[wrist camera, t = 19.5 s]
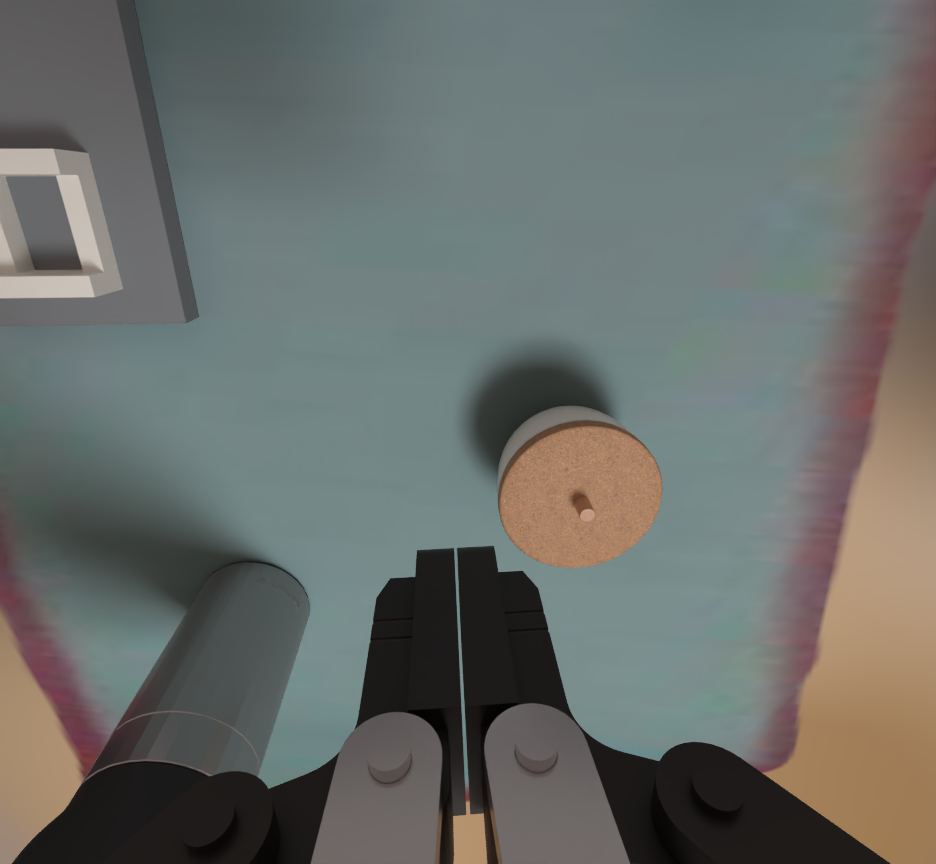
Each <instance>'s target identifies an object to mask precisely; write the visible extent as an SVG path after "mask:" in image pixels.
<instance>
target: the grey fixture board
mask: <svg viewBox="0 0 936 864" xmlns="http://www.w3.org/2000/svg"><path fill="white" fill-rule="evenodd" d="M198 317H199V315H198V310H197V306H196V301H195V296H194V291H193V286H192V281H191V276H190V272H189V267H188V262H187V257H186V252H185V247H184V242H183V238H182V233H181V228H180V223H179V218H178V213H177V208H176V204H175V199H174V194H173V189H172V184H171V179H170V174H169V170H168V165H167V160H166V155H165V150H164V145H163V141H162V136H161V131H160V126H159V121H158V116H157V111H156V107H155V102H154V97H153V92H152V87H151V82H150V77H149V73H148V68H147V63H146V58H145V53H144V48H143V43H142V39H141V34H140V29H139V24H138V19H137V14H136V9H135V5H134V0H0V326H17V325H92V324H167V323H187V322H190V321H192V320H194V319H196V318H198Z"/></svg>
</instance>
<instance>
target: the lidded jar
mask: <svg viewBox="0 0 936 864" xmlns="http://www.w3.org/2000/svg"><path fill="white" fill-rule="evenodd" d="M497 490H498V508H499V513H500V518H501V522H502V525H503V527H504V529H505V532H506V533H507V535H508V536H509V538H510V539H511V541H512V542H513V543H514V544H515V545H516V546H517V547H518V548H519V549H520V550H521V551H522V552H524V553H525V554H526V555H528V556H530V557H531V558H533V559H535V560H537V561H540V562H543V563H545V564H548V565H553V566H558V567H568V568H577V567H586V566H592V565H597V564H600V563H603V562H606V561H608V560H610V559H613V558H615V557H617V556H619V555H621V554H622V553H624V552H625V551H627V550H628V549H629V548H631V547H632V546H633V545H634V544H636V543H637V542H638V541H639V540H640V539H641V538H642V536H643V535H644V534H645V533H646V532H647V530H648V529H649V528H650V526H651V525H652V523H653V521H654V519H655V517H656V515H657V513H658V510H659V507H660V503H661V498H662V478H661V474H660V470H659V467H658V465H657V463H656V461H655V459H654V457H653V456H652V454H651V453H650V452H649V450H648V449H647V448H646V446H645V445H644V444H643V443H642V442H641V441H640V440H638V439H637V438H636V437H635V436H634V435H633V434H632V433H631V432H630V431H629V430H628V429H627V428H626V427H625V426H623V425H622V424H621V423H619V422H618V421H617V420H615V419H614V418H612V417H610V416H609V415H607V414H604V413H602V412H600V411H597V410H595V409H592V408H588V407H584V406H559V407H554V408H550V409H547V410H544V411H541V412H539V413H537V414H536V415H534V416H532V417H530V418H529V419H528V420H526V421H525V422H524V423H523V424H522V425H521V426H520V427H519V428H518V429H516V431H515V432H514V433H513V434H512V436H511V437H510V438H509V440H508V442H507V444H506V445H505V447H504V450H503V453H502V456H501V459H500V462H499V468H498V476H497Z"/></svg>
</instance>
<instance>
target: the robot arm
mask: <svg viewBox="0 0 936 864" xmlns="http://www.w3.org/2000/svg"><path fill="white" fill-rule="evenodd" d="M457 555H458V579H459V602H460V624H461V644H462V663H463V682H464V701H465V720H466V739H467V758H468V776H469V795H470V813H471V814H479V813H480V814H481V813H484V822H485V836H486V849H487V864H890V863H889V862H887V861H886V860H884V859H883V858H882V857H880V856H879V855H877V854H876V853H874V852H873V851H872V850H870V849H869V848H867V847H866V846H864V845H863V844H862V843H860V842H859V841H857V840H856V839H855V838H853V837H852V836H850V835H849V834H847V833H846V832H845V831H843V830H842V829H841V828H839V827H838V826H836V825H835V824H833V823H832V822H830V821H829V820H828V819H826V818H825V817H823V816H822V815H821V814H819V813H818V812H816V811H815V810H813V809H812V808H811V807H809V806H808V805H807V804H805V803H804V802H802V801H801V800H799V799H798V798H797V797H795V796H794V795H792V794H791V793H789V792H788V791H787V790H785V789H784V788H782V787H781V786H780V785H778V784H777V783H775V782H774V781H772V780H771V779H770V778H768V777H767V776H765V775H764V774H763V773H761V772H760V771H758V770H757V769H755V768H754V767H753V766H751V765H750V764H748V763H747V762H746V761H744V760H743V759H741V758H740V757H738V756H736V755H735V754H733V753H732V752H730V751H727V750H725V749H723V748H721V747H718V746H715V745H712V744H707V743H701V742H689V743H683V744H680V745H677V746H675V747H673V748H671V749H669V750H668V751H667V752H666V753H665V754H664V755H663V757H662V758H661V760H660V761H656V760H652V759H648V758H644V757H640V756H636V755H632V754H628V753H624V752H621V751H617V750H614V749H612V748H609V747H607V746H605V745H603V744H601V743H600V742H598V741H597V740H595V739H593V738H592V737H591V736H590V735H589V734H587V733H586V732H585V731H584V730H583V729H582V728H581V727H580V726H579V724H578V723H577V722H576V720H575V719H574V717H573V715H572V713H571V712H570V709H569V706H568V704H567V700H566V696H565V692H564V688H563V684H562V680H561V677H560V673H559V669H558V665H557V661H556V657H555V653H554V649H553V645H552V641H551V637H550V634H549V632H548V626H547V622H546V618H545V614H544V612H543V606H542V602H541V598H540V594H539V590H538V588H537V587H536V586H535V585H534V583H533V582H532V581H531V580H530V579H529V578H528V577H527V575H526V574H525V573H524V572H523V571H513V572H498V568H497V562H496V555H495V549H494V546H485V547H466V548H457ZM309 611H310V605H309V601H308V597H307V595H306V593H305V591H304V589H303V588H302V587H301V585H300V584H299V583H298V582H297V581H296V580H295V579H294V578H293V577H291V576H290V575H289V574H287V573H286V572H284V571H282V570H280V569H278V568H275V567H272V566H270V565H266V564H261V563H249V562H243V563H237V564H232V565H229V566H226V567H224V568H221V569H220V570H218V571H217V572H215V573H213V574H212V575H211V577H210V578H209V579H208V580H207V581H206V582H205V584H204V586H203V587H202V589H201V591H200V592H199V594H198V595H197V597H196V599H195V600H194V602H193V603H192V605H191V607H190V608H189V610H188V612H187V613H186V615H185V616H184V618H183V619H182V621H181V623H180V624H179V626H178V627H177V629H176V631H175V632H174V634H173V636H172V637H171V639H170V640H169V642H168V644H167V645H166V647H165V649H164V650H163V652H162V653H161V655H160V657H159V658H158V660H157V662H156V663H155V665H154V666H153V668H152V670H151V671H150V673H149V675H148V676H147V678H146V679H145V681H144V683H143V684H142V686H141V688H140V689H139V691H138V692H137V694H136V696H135V697H134V699H133V701H132V702H131V704H130V705H129V707H128V709H127V710H126V712H125V714H124V715H123V717H122V718H121V720H120V722H119V723H118V725H117V727H116V728H115V730H114V731H113V733H112V735H111V736H110V738H109V740H108V742H107V743H106V745H105V747H104V748H103V750H102V751H101V753H100V755H99V756H98V758H97V760H96V761H95V763H94V764H93V766H92V768H91V769H90V771H89V773H88V774H87V776H86V777H85V779H84V781H83V782H82V784H81V786H80V787H79V789H78V790H77V792H76V794H75V795H74V797H73V798H72V800H71V802H70V803H69V805H68V806H67V807H66V809H65V810H64V811H63V812H62V813H61V814H60V815H59V816H58V817H56V818H55V819H54V820H53V821H52V822H51V823H49V824H48V825H47V826H46V827H45V828H44V829H43V830H42V831H41V832H39V833H38V834H37V835H36V836H35V837H34V838H33V839H32V840H31V842H30V843H29V844H28V845H27V846H26V847H25V848H24V849H23V850H22V851H21V853H20V854H19V855H18V857H17V858H16V859H15V860H14V862H13V863H12V864H453V861H454V841H453V840H454V839H453V816H458V815H466V801H465V780H464V758H463V736H462V714H461V692H460V670H459V648H458V626H457V605H456V583H455V561H454V548H450V549H432V550H417V559H416V576H415V577H408V578H390V580H389V581H388V583H387V584H386V585H385V587H384V588H383V590H382V591H381V592H380V594H379V595H378V597H377V599H376V605H375V612H374V618H373V625H372V631H371V638H370V640H371V642H370V645H369V651H368V658H367V664H366V671H365V677H364V684H363V690H362V697H361V704H360V710H359V717H358V721H357V725H356V727H355V730H354V731H353V732H352V733H351V734H350V735H349V737H348V738H347V739H346V741H345V742H344V744H343V746H342V748H341V750H340V752H339V753H338V754H337V755H336V756H335V757H334V758H332V759H331V760H330V761H329V762H327V763H326V764H325V765H323V766H321V767H320V768H318V769H317V770H314V771H312V772H310V773H308V774H306V775H303V776H301V777H298V778H295V779H293V780H290V781H288V782H285V783H283V784H280V785H278V786H275V787H272V788H270V789H268V788H267V786H266V785H265V783H264V782H263V781H262V780H261V779H259V778H258V774H259V771H260V768H261V765H262V762H263V759H264V756H265V753H266V749H267V746H268V743H269V740H270V737H271V734H272V731H273V727H274V724H275V721H276V718H277V715H278V712H279V709H280V705H281V702H282V699H283V696H284V693H285V690H286V687H287V683H288V680H289V677H290V674H291V671H292V668H293V665H294V662H295V658H296V655H297V653H298V649H299V646H300V643H301V640H302V637H303V633H304V630H305V627H306V624H307V621H308V617H309Z"/></svg>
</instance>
